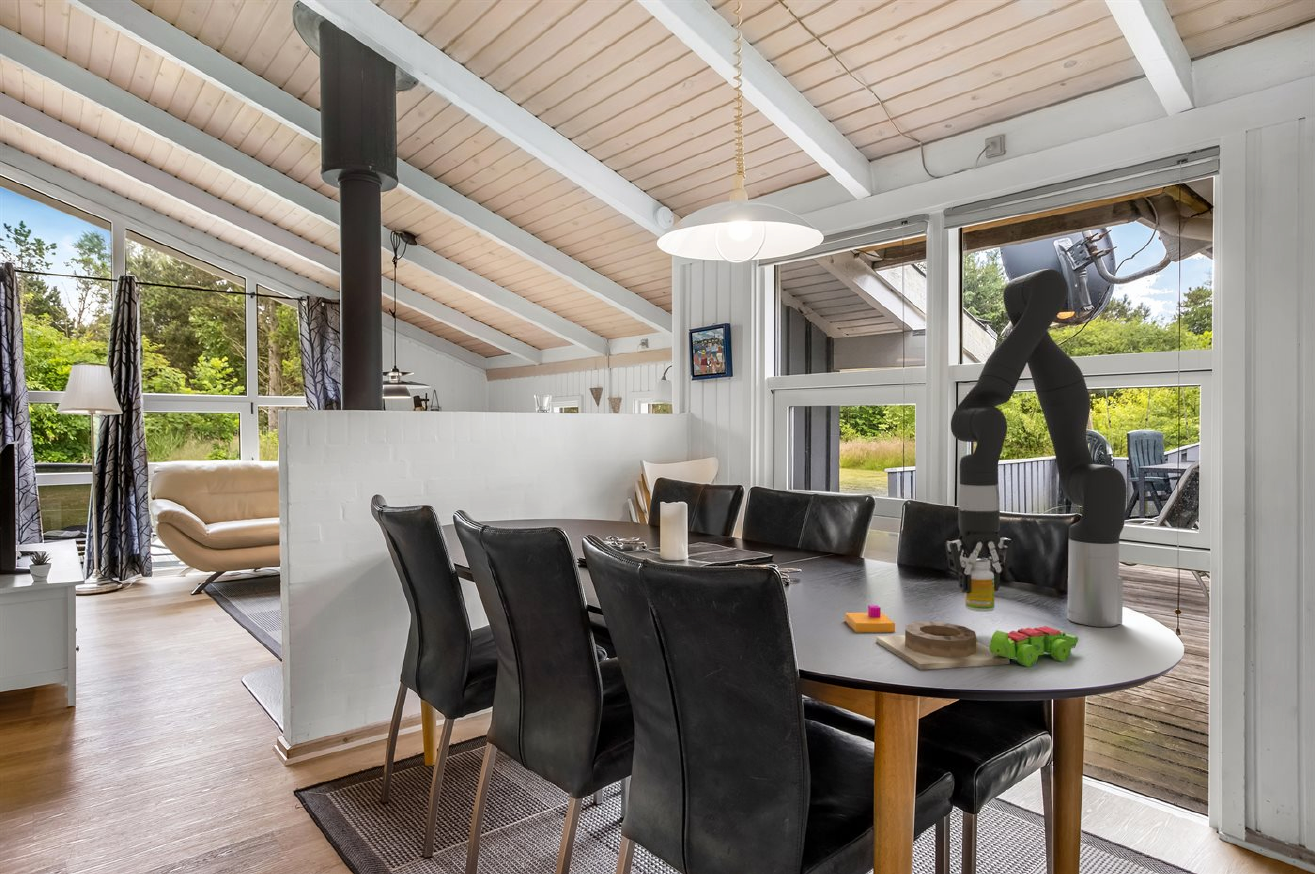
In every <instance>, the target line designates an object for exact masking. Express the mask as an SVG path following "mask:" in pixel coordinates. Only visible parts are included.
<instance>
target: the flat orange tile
mask: <svg viewBox="0 0 1315 874" xmlns="http://www.w3.org/2000/svg"><path fill="white" fill-rule="evenodd" d="M881 608H882V607H880V605H877V604H875V605H872V604H869V605H867V611H868V612H845V613H844V615H845V616H844V617H845V618H844V619H845V620H844V621H845V622H846V624H848V626H849V627H850V628H851V629H852V630H853V631H854V632H855V633H895V632H896V623H895V621H893V620H892V619H891V618H889V616H887V615H886V614H885V613H884V612H881V610H882V609H881Z"/></svg>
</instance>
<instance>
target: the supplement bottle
mask: <svg viewBox="0 0 1315 874" xmlns="http://www.w3.org/2000/svg"><path fill="white" fill-rule="evenodd" d="M989 569H990V561H989V560H986V559H983V558H979V559H976V562H975V564H973V565H972V568H971V571H970V573H969V575H971V593H964V606H965V608H966V609H967V610H970V611H973V612H982V613H986V612H992V611H994V610H995V591H994V574H993V573H992V572H991V571H990V570H989Z"/></svg>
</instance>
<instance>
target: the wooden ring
mask: <svg viewBox="0 0 1315 874" xmlns="http://www.w3.org/2000/svg"><path fill="white" fill-rule="evenodd" d="M904 633H905V634H904V635H905V646H906V647H908V648H909V649H911V650H913V651H914V652H918V653H922V654H925V655H929V656H936V657H946V658H957V657H968V656H970V655H973V654H975V653H976V642H977V634H976V631H975V630H973V629H971V628H968V627H966V626H964V625H963V626H962V625H959V624H953V623H949V622H943V621H919V622H918V621H917V622H916V621H915V622H912V623H909V624H906V625H905V631H904Z"/></svg>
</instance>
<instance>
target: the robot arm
mask: <svg viewBox="0 0 1315 874" xmlns="http://www.w3.org/2000/svg"><path fill="white" fill-rule="evenodd" d="M1068 296H1069V286H1068V281H1067V279H1066V277H1065V276H1064V274H1063V273H1061V272H1060V271H1058V270H1056V269H1054V268H1045V269H1041V270H1037V271H1034V272H1030V273H1027V274H1024V275H1021V276H1018V277H1016V278H1012V279H1011V280H1010V281H1008V282H1007V283H1006V285H1005V286H1004V289H1003V304H1004V308H1005V311H1006V314H1007V316H1008V317H1007V318H1008V319H1009V321H1010V323H1011V326H1012V330H1011V331H1010V332H1009V333H1008V334H1007V335H1006V337H1004V339H1003V340H1002V341H1001V342H1000V343H998V345H997V346H996V347H995V348H994V350H993V351H992V352H991V354H990V355H989V357H988V358H987V360H986V362H985V364H984V366H983V368H982V371H981V373H980V374H979V376H978V378H977V382H976V383H975V385H974V386H973V388H971V390H970V391H969V392H968V393H967V394H966V396H964V398H963V400H961V402H960V403H959V404H958V406H957V407H956V408H955V410H954V412H953V414H952V416H951V421H950V430H951V433H952V435H953V437H954V438H956V440H958V441H961V442H963V443H964V442H965V443H967V442H968V443H976V445H975V449H974V451H973V452H972V453H970V454H969V453H968V454H965V455H964V456H962V457H961V458H960V460H959V487H958V488H959V490H958V496H957V497H958V498H957V499H958V529H959V536H958V538H957V539H955V540H952V541H950V540H946V541H945V542H944V546H945V547H944V548H945V553H946V556H947V557H946V558H947V563H948V567H949V569H950V570H951V571H955V572H957V573H958V583H959V584H958V586H959V590H961V592H962V593H964V594H965V593H971V575H969V573H970V571H971V568H972V565H973V564H975V562H976V559H986V560H989V561H990V569H989V571H991V572H992V573H993V574H994V592H998V591H999V588H1000V586H1001V572H1002V571H1004V570H1005V569H1006V570H1008V569H1009V568H1010V565H1011V558H1012V553H1013V547H1014V540H1013V539H1011V538H1009V537H1008V538H1007V537H1000V535H999V531H1000V529H1001V528H1000V526H1001V524H1000V523H1001V522H1000V521H1001V519H1000V517H1001V515H1000V511H1001V510H1000V491H999V461H1000V458H1001V455H1002V451H1003V448H1004V443H1005V441H1006V437H1007V432H1008V422H1007V418H1006V415H1005V414H1004V412H1003V411H1002V410H1001V409H1000V408H998V406H1001V405H1005V404H1006V403H1008V402H1009V401H1010V399H1011V398H1012V396H1013V395H1014V392H1015V389H1016V387H1017V385H1018V383H1019V381H1020V379H1021V377H1022V373H1023V371H1024V369H1025V368H1026V366H1027V365H1028V369H1029V372H1030V375H1031V378H1032V383H1033V385H1034V389H1035V393H1036V396H1037V399H1038V402H1039V405H1040V409H1041V411H1042V414H1043V417H1044V419H1045V424H1046V427H1047V430H1048V434H1049V437H1050V440H1051V445H1052V446H1053V448H1052V449H1053V451H1054V456H1055V461H1056V462H1055V463H1056V467H1057V472H1058V477H1059V481H1060V486H1061V489H1062V493H1063V494H1064V496H1065V498H1066V500H1068V501H1069V502H1071V503H1072V504H1074V505H1077V506H1081V507H1082V512H1081V518H1080V520H1079V521H1077V522H1076V523H1073V524H1071V525H1070V526H1069V528H1068V558H1067V559H1068V560H1067V561H1068V563H1067V564H1068V567H1067V568H1068V571H1067V576H1068V577H1067V619H1068V620H1069V621H1071V622H1073V623H1076V624H1079V625H1085V626H1090V627H1099V628H1100V627H1101V628H1103V627H1104V628H1107V627H1110V628H1111V627H1115V626H1116V627H1117V626H1118V625H1119V624H1121V625H1122V624H1123V603H1124V599H1123V597H1124V579H1123V578H1122V577H1120V575H1119V574H1120V573H1119V572H1120V535H1121V534H1122V531H1123V529H1124V526H1125V520H1126V510H1127V509H1126V506H1127V483H1126V479H1125V477H1124V475H1123V473H1122V472H1121V471H1120V470H1119V469H1118V468H1116V467H1114V466H1112V465H1106V464H1097V463H1095V462H1094V460H1093V457H1092V455H1091V451H1090V447H1089V444H1088V441H1087V428H1088V427H1087V426H1088V422H1089V417H1090V411H1091V398H1090V394H1089V391H1088V387H1087V383H1086V381H1085V378H1084V374H1083V371H1082V370H1081V368H1080V366H1078V364H1077V363H1076V362H1075V361H1074V360H1073V359H1072V358H1071V356H1069V355H1068V354H1067V353H1066V352H1065V350H1063V349H1062V348H1061V347H1060V346H1059V345H1058V344H1057V342H1055V340H1054V339H1053V338H1052V336H1051V335H1050V332H1049V328H1050V327H1051V325H1053V322H1054V321H1055V319H1056V318H1057V316H1058V315H1059V314H1060V312H1061V311H1062V309H1063V307H1065V304H1066V301H1067V299H1068ZM997 548H998V553H997V550H996V549H997ZM961 549H962V550H961ZM960 551H961V553H960ZM959 553H960V554H959Z"/></svg>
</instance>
